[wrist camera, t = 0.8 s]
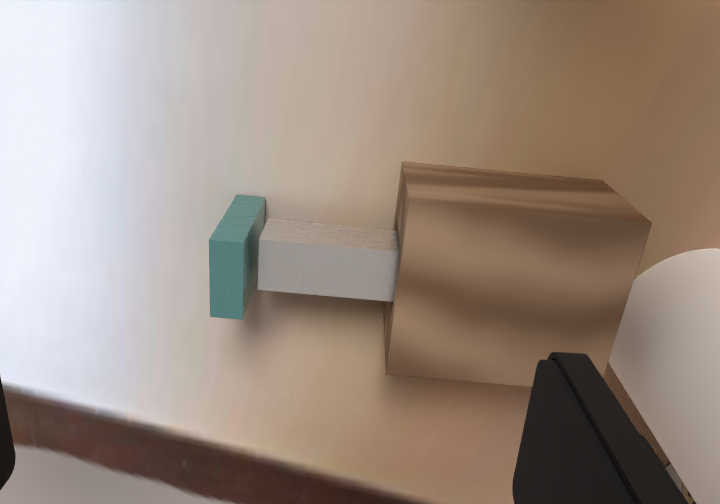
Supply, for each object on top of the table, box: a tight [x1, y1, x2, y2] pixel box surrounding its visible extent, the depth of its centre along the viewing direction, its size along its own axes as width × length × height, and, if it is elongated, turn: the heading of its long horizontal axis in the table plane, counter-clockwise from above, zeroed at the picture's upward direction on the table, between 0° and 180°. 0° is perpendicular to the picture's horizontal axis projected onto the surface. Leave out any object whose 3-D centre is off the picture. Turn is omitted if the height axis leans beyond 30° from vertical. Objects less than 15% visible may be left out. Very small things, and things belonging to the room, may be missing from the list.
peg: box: [209, 195, 400, 320], centre depth 40 cm, size 5×14×8 cm, turn 85°
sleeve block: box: [383, 162, 652, 387], centre depth 40 cm, size 12×14×8 cm
